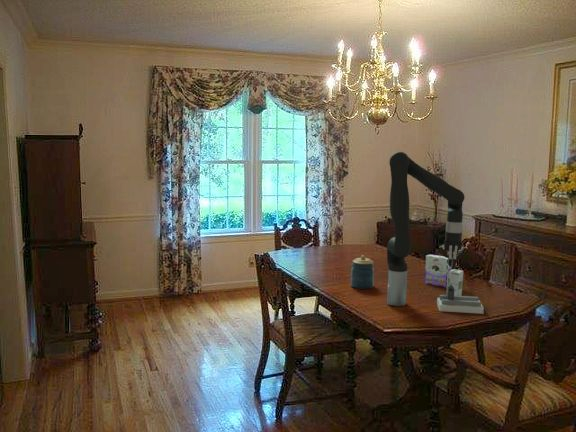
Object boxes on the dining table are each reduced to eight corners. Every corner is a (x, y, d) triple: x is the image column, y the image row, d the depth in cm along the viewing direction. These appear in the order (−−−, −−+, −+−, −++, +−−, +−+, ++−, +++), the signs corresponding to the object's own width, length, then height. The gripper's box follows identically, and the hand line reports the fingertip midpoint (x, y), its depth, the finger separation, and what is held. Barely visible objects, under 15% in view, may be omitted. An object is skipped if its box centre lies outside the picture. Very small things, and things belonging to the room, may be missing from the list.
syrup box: (451, 295, 277) (452, 268, 275) (462, 297, 273) (463, 270, 271) (446, 298, 272) (448, 270, 270) (457, 300, 269) (459, 272, 267)
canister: (357, 281, 303) (358, 251, 300) (377, 285, 295) (378, 254, 293) (346, 286, 292) (347, 255, 290) (367, 290, 285) (368, 258, 282)
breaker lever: (447, 302, 253) (448, 286, 252) (446, 299, 258) (446, 283, 257) (453, 303, 253) (454, 286, 252) (452, 300, 258) (453, 283, 257)
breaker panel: (439, 311, 251) (440, 300, 250) (436, 303, 263) (437, 293, 262) (483, 313, 248) (484, 303, 247) (478, 306, 259) (479, 296, 259)
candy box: (451, 285, 296) (452, 257, 293) (446, 288, 291) (447, 259, 289) (428, 281, 305) (430, 253, 303) (423, 283, 301) (425, 255, 298)
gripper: (467, 230, 253) (464, 265, 256) (438, 229, 256) (436, 263, 258) (469, 232, 246) (467, 269, 248) (440, 231, 248) (438, 267, 251)
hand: (451, 266), depth 253 cm, fingers closed
